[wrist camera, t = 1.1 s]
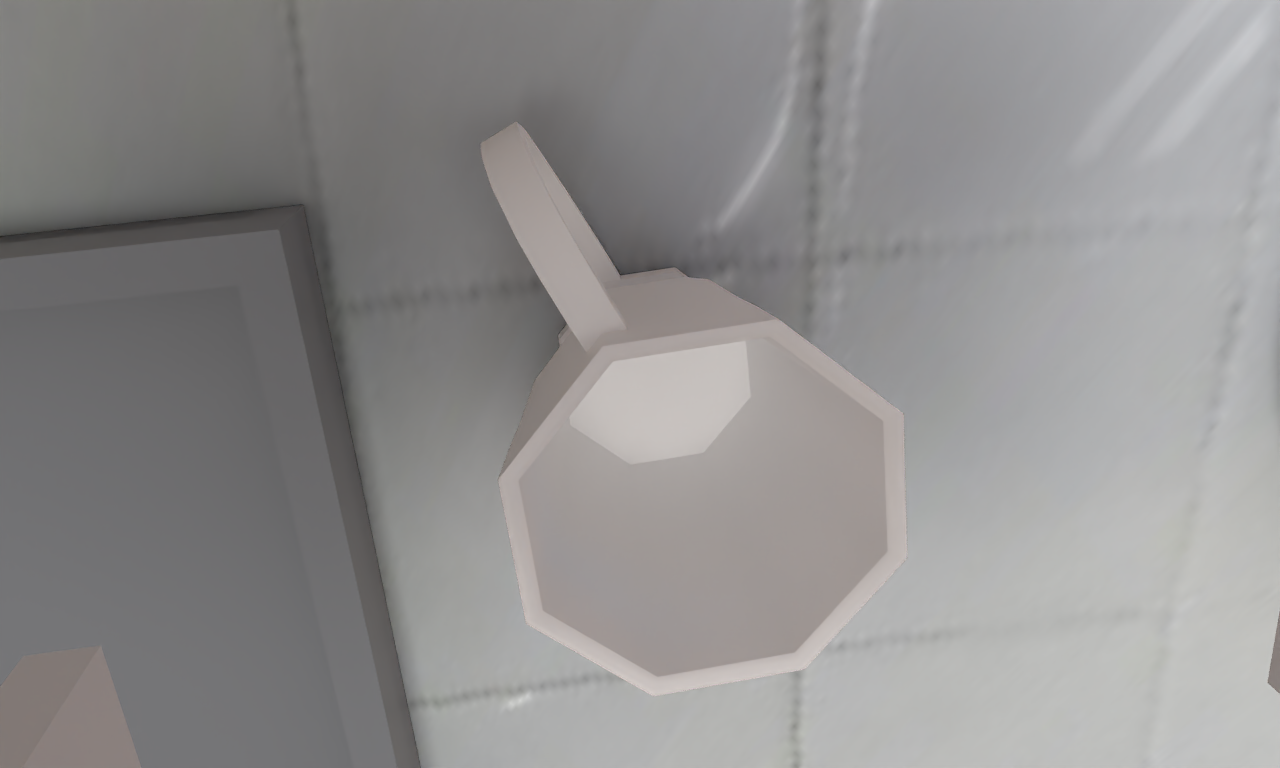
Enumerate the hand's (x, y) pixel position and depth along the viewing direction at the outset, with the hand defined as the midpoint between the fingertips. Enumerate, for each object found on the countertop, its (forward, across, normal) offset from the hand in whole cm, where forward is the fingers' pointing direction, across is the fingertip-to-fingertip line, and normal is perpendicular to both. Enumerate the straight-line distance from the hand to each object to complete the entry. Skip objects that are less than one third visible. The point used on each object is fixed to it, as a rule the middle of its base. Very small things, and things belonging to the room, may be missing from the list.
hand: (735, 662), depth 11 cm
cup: (+13, 0, 0) cm, 13 cm away
